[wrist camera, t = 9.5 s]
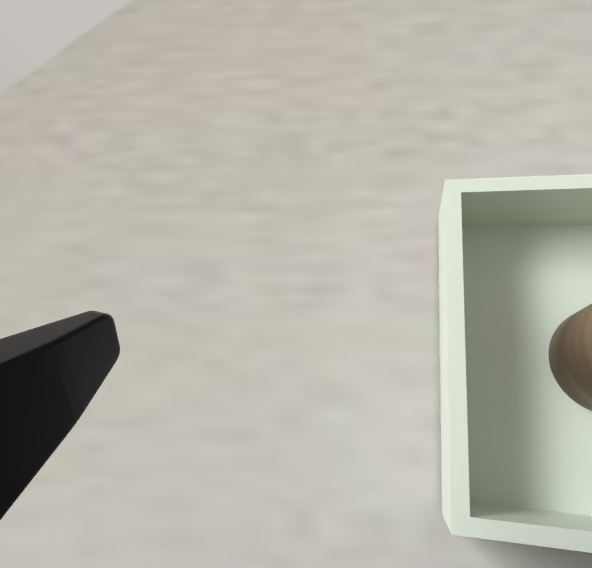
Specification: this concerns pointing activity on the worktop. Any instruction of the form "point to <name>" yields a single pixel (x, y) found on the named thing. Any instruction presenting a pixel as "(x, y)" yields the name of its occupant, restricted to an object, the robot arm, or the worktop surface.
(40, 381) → the robot arm
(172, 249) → the worktop surface
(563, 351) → the mill
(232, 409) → the worktop surface
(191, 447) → the worktop surface
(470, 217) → the bin
